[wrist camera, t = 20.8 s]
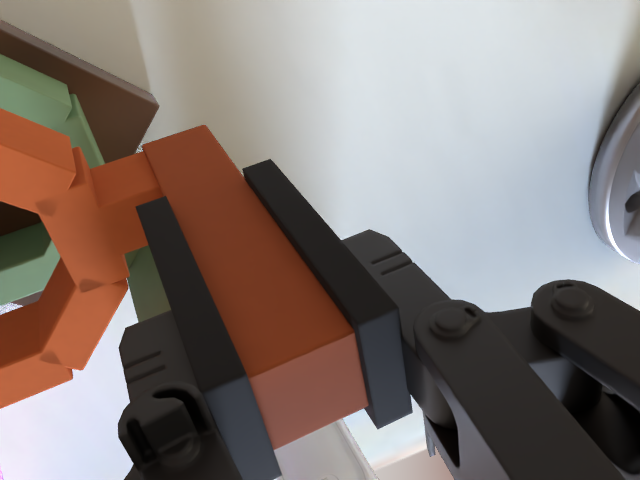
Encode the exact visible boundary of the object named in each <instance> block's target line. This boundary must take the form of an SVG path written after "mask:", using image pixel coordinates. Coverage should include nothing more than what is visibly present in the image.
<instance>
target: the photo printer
mask: <svg viewBox="0 0 640 480" xmlns="http://www.w3.org/2000/svg"><path fill="white" fill-rule="evenodd" d="M274 453H275V456H276V458H277V461H278V464H279V467H280V470H281V473H282V476H280V477H278V478H276V480H379V479H378V478H377V476H376V475H375V473H374V471H373V470H372V468H371V466H370V465H369V463H368V461H367V460H366V458H365V456H364V455H363V453H362V451H361V450H360V448H359V446H358V445H357V443H356V441H355V439H354V438H353V436H352V434H351V433H350V431H349V429H348V427H347V426H346V424H345V422H344V421H343V419H340V420H337V421H335V422H333V423H331V424H329V425H327V426H325V427H323V428H321V429H318V430H316V431H314V432H312V433H310V434H308V435H306V436H304V437H301V438H299V439H297V440H295V441H293V442H291V443H289V444H287V445H284V446H282V447H280V448H278V449H276V450H274Z"/></svg>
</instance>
